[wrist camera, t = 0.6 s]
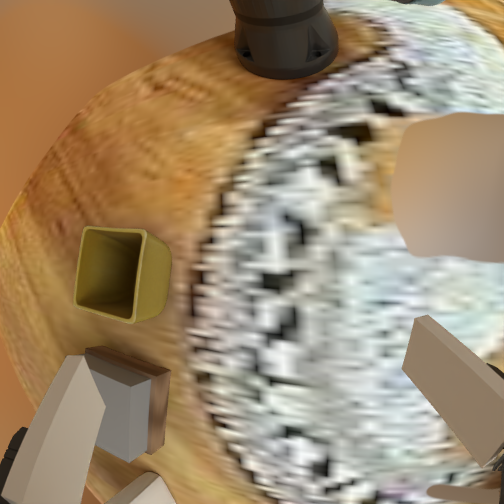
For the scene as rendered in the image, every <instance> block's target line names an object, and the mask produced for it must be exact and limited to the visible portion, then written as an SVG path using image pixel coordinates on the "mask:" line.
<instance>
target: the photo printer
mask: <svg viewBox="0 0 504 504" xmlns="http://www.w3.org/2000/svg"><path fill="white" fill-rule="evenodd" d="M104 504H176V502H175V501H174V499H173V497H172V495H171V493H170V491H169V490H168V488H167V486H166V484H165V482H164V481H163V479H162V478H161V477H160V476H159V475H157V474H155V473H152V472H146V473H144V474H143V475H140V476H139V477H137V478H136V479H135V480H134V481H132V482H131V483H130V484H129V485H128V486H126V487H125V488H124V489H123V490H121V491H120V492H119V493H117V494H116V495H115V496H114V497H112V498H111V499H110V500H108V501H107V502H106V503H104Z"/></svg>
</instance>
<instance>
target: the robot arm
mask: <svg viewBox="0 0 504 504" xmlns="http://www.w3.org/2000/svg"><path fill="white" fill-rule="evenodd" d="M229 1H230V3H231V6H232V8H233V11H234V13H235V15H236V24H235V40H234V45H235V50H236V53H237V55H238V58H239V60H240V62H241V64H242V65H243V66H244V67H245V68H246V69H247V70H249V71H250V72H252V73H254V74H257V75H259V76H262V77H266V78H272V79H295V78H301V77H305V76H309V75H312V74H315V73H317V72H319V71H321V70H323V69H324V68H326V67H327V66H329V65H330V64H331V63H332V62H333V61H334V59H335V58H336V56H337V53H338V34H337V31H336V28H335V26H334V24H333V22H332V20H331V19H330V17H329V15H328V13H327V11H326V9H325V7H324V5H323V0H229ZM391 1H397V2H399V3H402V4H418V5H424V6H433V5H438V4H440V3H442V2H443V1H445V0H391ZM402 370H403V371H404V372H405V373H406V375H407V376H408V377H409V378H410V379H411V381H412V382H413V383H414V384H415V385H416V387H417V388H418V389H419V390H420V391H421V393H422V394H423V395H424V396H425V397H426V399H427V400H428V401H429V402H430V403H431V405H432V406H433V407H434V408H435V410H436V411H437V412H438V413H439V415H440V416H441V417H442V418H443V419H444V421H445V422H446V423H447V424H448V426H449V427H450V428H451V429H452V431H453V432H454V433H455V434H456V436H457V437H458V438H459V440H460V441H461V442H462V443H463V445H464V446H465V447H466V449H467V450H468V451H469V452H470V454H471V455H472V456H473V458H474V459H475V460H476V461H477V463H478V464H479V465H480V467H481V468H483V467H484V466H486V465H487V464H488V463H490V462H491V461H492V460H494V459H495V458H496V457H497V455H498V454H499V453H500V452H501V450H502V449H504V373H503V372H502V371H501V370H499V369H498V368H497V367H495V366H493V365H490V364H488V363H485V362H483V361H482V360H481V359H480V358H479V357H478V356H477V355H475V354H474V353H473V352H472V351H471V350H470V349H468V348H467V347H466V346H465V345H464V344H463V343H461V342H460V341H459V340H458V339H457V338H455V337H454V336H453V335H452V334H451V333H449V332H448V331H447V330H446V329H445V328H443V327H442V326H441V325H440V324H439V323H437V322H436V321H435V320H434V319H432V318H431V317H430V316H429V315H425V316H421V317H417V318H415V319H414V324H413V328H412V332H411V336H410V340H409V344H408V348H407V352H406V355H405V359H404V362H403V366H402ZM105 408H106V406H105V404H104V402H103V399H102V397H101V395H100V393H99V391H98V389H97V386H96V384H95V382H94V380H93V377H92V375H91V372H90V370H89V368H88V365H87V363H86V360H85V358H84V356H76V355H67V357H66V358H65V360H64V362H63V364H62V365H61V367H60V369H59V371H58V372H57V374H56V376H55V378H54V380H53V381H52V383H51V385H50V387H49V389H48V391H47V393H46V394H45V396H44V398H43V400H42V402H41V404H40V406H39V408H38V410H37V412H36V414H35V416H34V418H33V420H32V422H31V424H30V426H29V428H25V427H22V428H21V429H20V430H19V431H18V432H17V433H16V434H15V435H14V436H13V437H12V440H11V441H10V444H9V446H8V450H6V452H5V454H4V458H3V459H2V461H1V464H0V504H81V499H82V494H83V489H84V485H85V481H86V477H87V473H88V469H89V465H90V461H91V457H92V453H93V449H94V445H95V442H96V438H97V435H98V431H99V428H100V424H101V421H102V418H103V414H104V411H105ZM501 463H502V465H501V466H500V467H499V469H498V471H502V478H501V491H500V501H499V504H504V454H503V455H502V456H501V457H500V459H499V460H498V461H497V462H496V464H495V465H494V467H493V470H492V471H495V470H496V469H497V468H498V466H499V465H500V464H501Z"/></svg>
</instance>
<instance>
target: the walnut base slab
mask: <svg viewBox="0 0 504 504" xmlns="http://www.w3.org/2000/svg"><path fill="white" fill-rule="evenodd" d="M86 353H88V354H90V355H92V356H95V357H97V358H99V359H102V360H104V361H106V362H109V363H111V364H113V365H116V366H118V367H121V368H123V369H126V370H129V371H131V372H134V373H136V374H139V375H142V376H145V377H147V378H150V379H151V388H150V401H149V417H148V438H147V451H145V453H147V454H150V455H152V454H153V453H154V452H155V451H157V450H158V449H159V448H160V447H162V446H163V445H164V440H165V427H166V416H167V405H168V395H169V385H170V376H171V370H168V369H165V368H162V367H159V366H156V365H153V364H150V363H147V362H144V361H141V360H138V359H136V358H133V357H130V356H128V355H125V354H122V353H120V352H117V351H114V350H112V349H109V348H107V347H104V346H98V347H91V348H86V349H85V354H86Z"/></svg>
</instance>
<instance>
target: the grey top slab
mask: <svg viewBox="0 0 504 504" xmlns="http://www.w3.org/2000/svg"><path fill="white" fill-rule="evenodd" d="M76 356H84V358H85V360H86V363H87V365H88V368H89V370H90V372H91V375H92V377H93V380H94V382H95V384H96V386H97V389H98V391H99V393H100V395H101V397H102V399H103V402H104V404H105V406H106V408H105V411H104V414H103V418H102V421H101V424H100V428H99V431H98V435H97V438H96V442H95V445H96V446H98V447H100V448H101V449H103V450H105V451H107V452H109V453H111V454H112V455H114V456H116V457H118V458H120V459H122V460H124V461H126V462H128V463H130V462H131V461H133V460H134V459H136V458H137V457H138V456H140V455H141V454H143V453H144V452H145V451H147V438H148V417H149V401H150V388H151V379H150V378H147V377H145V376H142V375H139V374H136V373H134V372H131V371H129V370H126V369H123V368H121V367H118V366H116V365H113V364H111V363H109V362H106V361H104V360H102V359H99V358H97V357H95V356H92V355H90V354H88V353H86V354H79V355H76ZM66 357H67V356H66ZM66 357H65V358H66Z"/></svg>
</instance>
